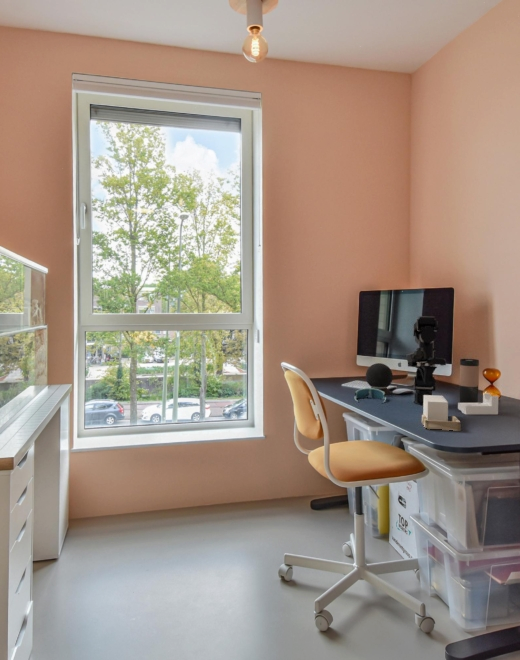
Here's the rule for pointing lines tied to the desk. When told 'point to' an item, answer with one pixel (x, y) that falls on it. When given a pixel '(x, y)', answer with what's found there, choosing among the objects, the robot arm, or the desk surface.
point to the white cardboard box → (435, 408)
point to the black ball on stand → (379, 377)
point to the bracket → (481, 406)
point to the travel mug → (469, 380)
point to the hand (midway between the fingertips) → (425, 383)
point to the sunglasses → (372, 391)
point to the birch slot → (442, 424)
